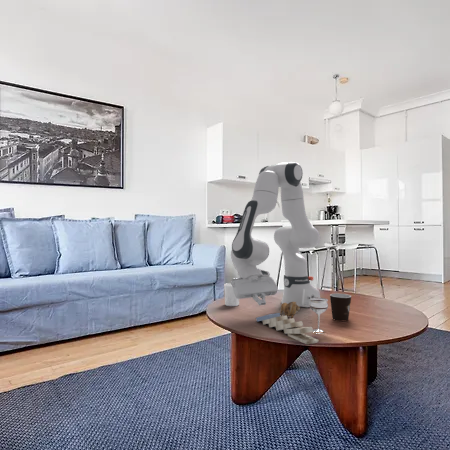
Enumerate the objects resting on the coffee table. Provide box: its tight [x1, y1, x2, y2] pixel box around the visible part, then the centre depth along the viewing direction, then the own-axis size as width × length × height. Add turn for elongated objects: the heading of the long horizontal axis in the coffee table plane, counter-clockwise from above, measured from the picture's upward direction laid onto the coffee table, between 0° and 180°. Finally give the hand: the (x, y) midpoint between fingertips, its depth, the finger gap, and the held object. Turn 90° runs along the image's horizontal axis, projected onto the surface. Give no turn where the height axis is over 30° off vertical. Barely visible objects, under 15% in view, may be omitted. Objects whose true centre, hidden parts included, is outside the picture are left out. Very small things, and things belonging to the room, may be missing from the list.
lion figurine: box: [279, 302, 301, 319], centre depth 144 cm, size 15×5×9 cm, turn 18°
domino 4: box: [274, 320, 304, 332], centre depth 127 cm, size 5×2×10 cm
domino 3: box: [268, 317, 296, 328], centre depth 132 cm, size 5×2×10 cm
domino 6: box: [287, 333, 319, 345], centre depth 121 cm, size 5×2×10 cm
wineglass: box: [309, 297, 329, 333], centre depth 130 cm, size 7×7×12 cm
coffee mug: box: [329, 293, 352, 321], centre depth 148 cm, size 12×9×10 cm
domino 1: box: [255, 312, 281, 322], centre depth 139 cm, size 5×2×10 cm
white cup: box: [223, 282, 240, 307], centre depth 171 cm, size 8×8×10 cm
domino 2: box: [262, 315, 289, 326], centre depth 136 cm, size 5×2×10 cm
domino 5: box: [283, 326, 314, 335], centre depth 123 cm, size 5×2×10 cm
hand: (262, 304), depth 143 cm, fingers closed
